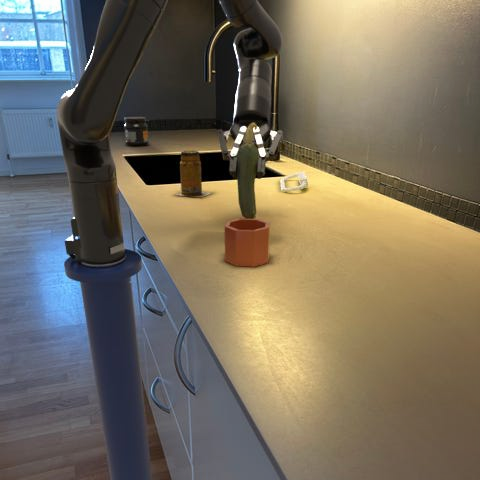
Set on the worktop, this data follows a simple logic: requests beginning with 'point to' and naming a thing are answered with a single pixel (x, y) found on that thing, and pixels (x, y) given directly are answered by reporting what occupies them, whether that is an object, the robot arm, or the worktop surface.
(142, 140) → the supplement container
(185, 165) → the condiment
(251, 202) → the vegetable
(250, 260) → the utensil pot
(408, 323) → the worktop surface
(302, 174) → the white open frame
